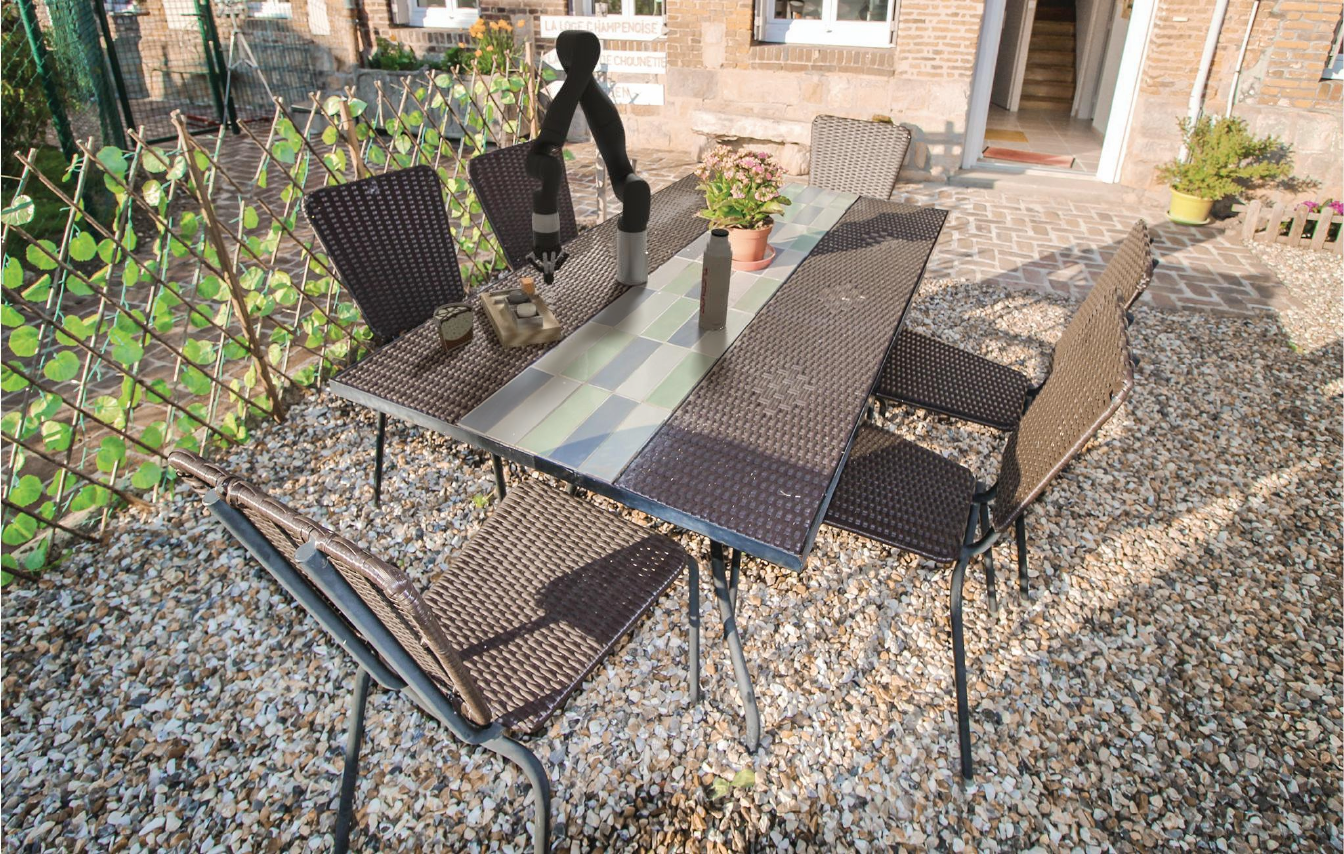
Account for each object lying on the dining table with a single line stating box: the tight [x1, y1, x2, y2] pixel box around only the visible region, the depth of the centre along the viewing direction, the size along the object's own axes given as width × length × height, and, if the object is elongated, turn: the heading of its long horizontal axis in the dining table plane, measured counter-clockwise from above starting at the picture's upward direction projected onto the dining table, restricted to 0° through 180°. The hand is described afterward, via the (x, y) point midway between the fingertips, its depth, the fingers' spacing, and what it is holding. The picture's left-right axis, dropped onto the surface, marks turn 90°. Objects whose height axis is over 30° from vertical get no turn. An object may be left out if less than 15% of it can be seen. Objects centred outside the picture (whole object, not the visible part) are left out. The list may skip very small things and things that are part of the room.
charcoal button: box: [509, 290, 528, 304], centre depth 207 cm, size 5×5×2 cm
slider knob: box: [520, 277, 536, 294], centre depth 217 cm, size 3×4×4 cm
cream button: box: [517, 303, 536, 317], centre depth 201 cm, size 5×5×2 cm
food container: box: [432, 302, 476, 353], centre depth 197 cm, size 12×6×10 cm, turn 145°
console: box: [480, 286, 562, 349], centre depth 210 cm, size 16×28×7 cm, turn 24°
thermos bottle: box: [698, 227, 733, 330], centre depth 208 cm, size 8×8×28 cm
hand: (548, 284), depth 219 cm, fingers closed
